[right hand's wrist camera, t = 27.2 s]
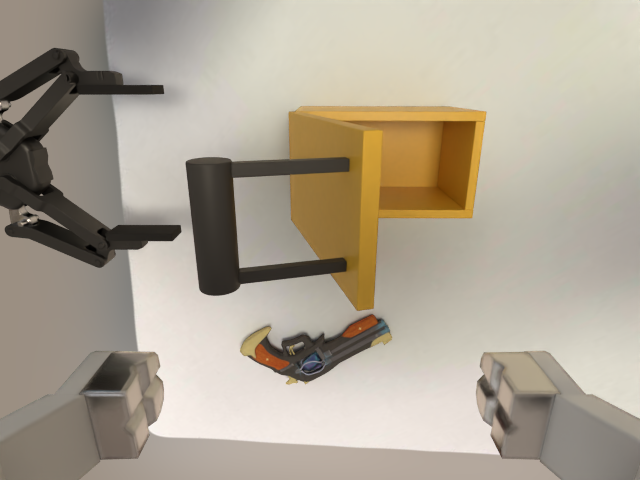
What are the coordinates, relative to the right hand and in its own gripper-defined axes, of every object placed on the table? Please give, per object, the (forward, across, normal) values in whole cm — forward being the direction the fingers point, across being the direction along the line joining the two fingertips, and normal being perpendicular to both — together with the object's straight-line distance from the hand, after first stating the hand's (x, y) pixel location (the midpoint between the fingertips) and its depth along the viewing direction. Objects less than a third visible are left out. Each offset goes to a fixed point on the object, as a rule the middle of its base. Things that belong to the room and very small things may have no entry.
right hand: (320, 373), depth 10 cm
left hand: (+31, +14, 0) cm, 34 cm away
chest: (+40, -6, 0) cm, 41 cm away
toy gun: (+40, +1, +26) cm, 48 cm away
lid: (+21, -1, 0) cm, 21 cm away
